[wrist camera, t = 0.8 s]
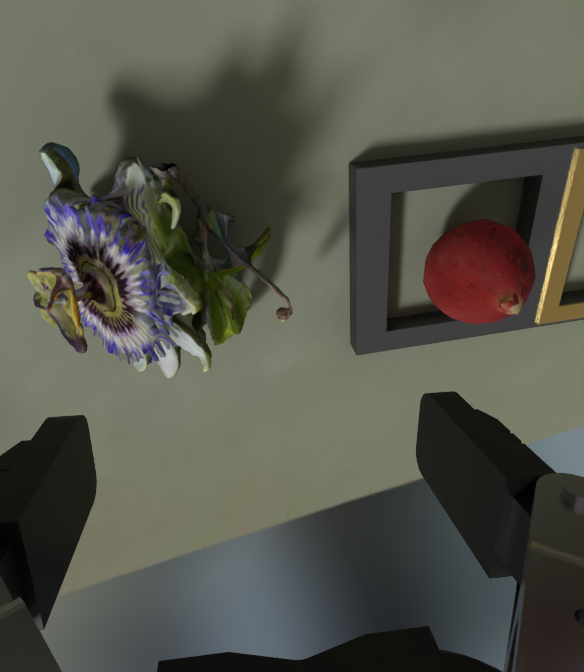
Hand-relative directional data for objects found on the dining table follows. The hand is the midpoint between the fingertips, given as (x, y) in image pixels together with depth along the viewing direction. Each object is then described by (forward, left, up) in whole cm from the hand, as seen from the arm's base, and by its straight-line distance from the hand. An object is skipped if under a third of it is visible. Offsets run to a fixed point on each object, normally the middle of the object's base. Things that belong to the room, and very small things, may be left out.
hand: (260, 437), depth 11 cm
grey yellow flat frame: (+4, +20, -18) cm, 27 cm away
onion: (+4, +14, -18) cm, 23 cm away
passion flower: (+1, -3, -19) cm, 19 cm away
